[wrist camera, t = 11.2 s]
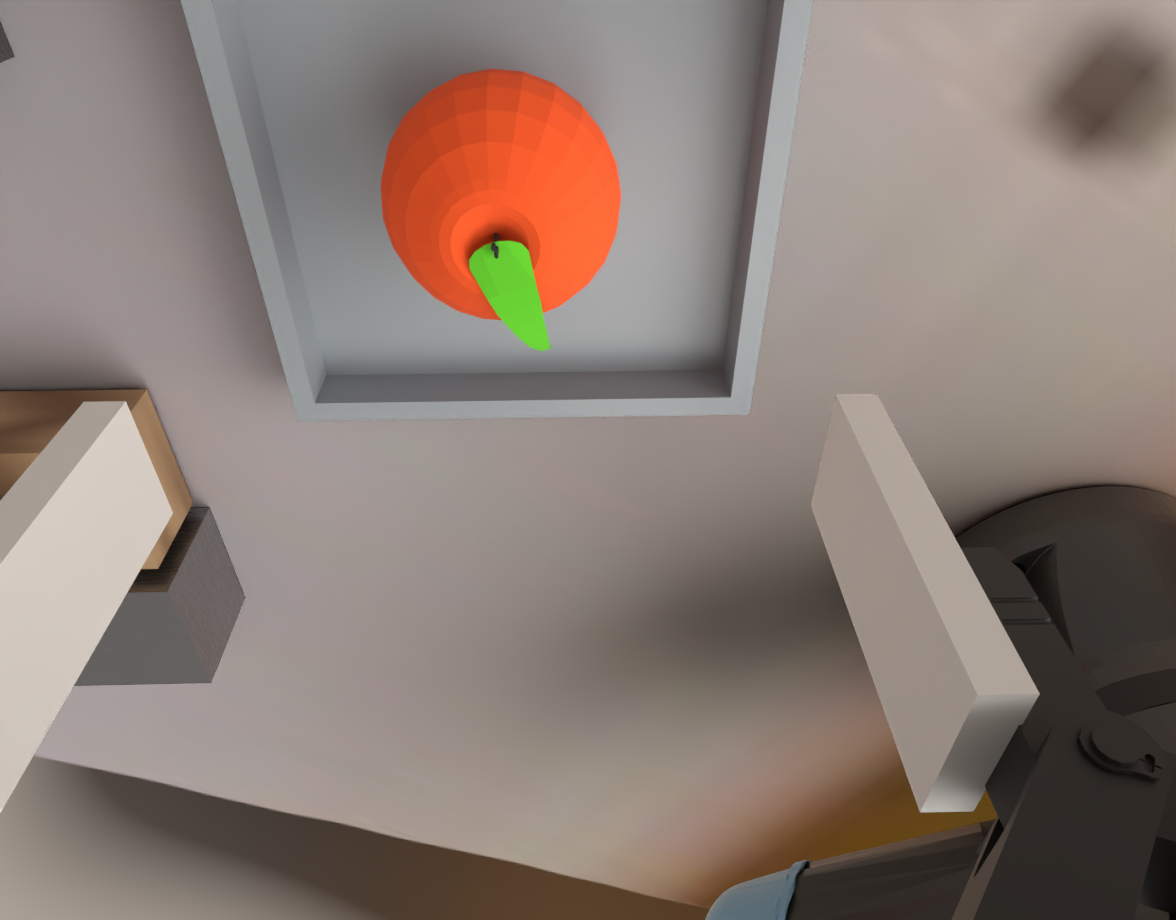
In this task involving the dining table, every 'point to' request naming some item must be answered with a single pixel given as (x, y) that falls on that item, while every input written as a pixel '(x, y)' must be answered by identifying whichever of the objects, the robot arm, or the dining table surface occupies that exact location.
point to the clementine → (501, 197)
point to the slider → (32, 418)
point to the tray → (646, 217)
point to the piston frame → (170, 605)
